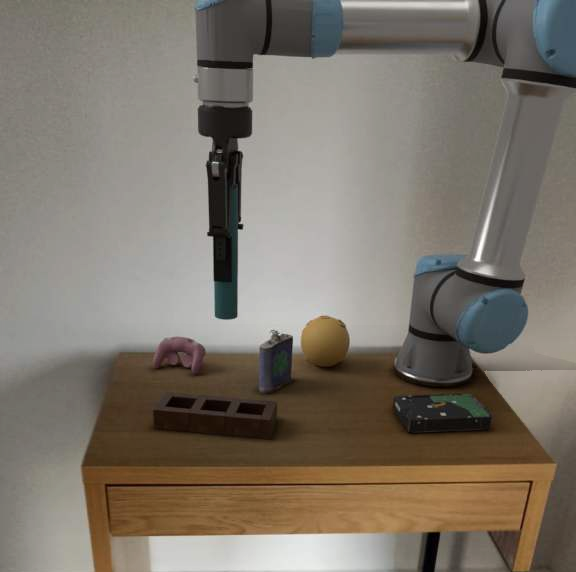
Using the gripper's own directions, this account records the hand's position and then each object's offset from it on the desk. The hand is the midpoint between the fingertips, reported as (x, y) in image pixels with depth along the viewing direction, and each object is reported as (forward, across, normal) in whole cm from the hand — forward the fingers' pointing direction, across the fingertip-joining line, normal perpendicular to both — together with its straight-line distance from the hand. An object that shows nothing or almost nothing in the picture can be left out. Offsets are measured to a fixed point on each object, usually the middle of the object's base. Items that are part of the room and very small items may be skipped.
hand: (225, 277), depth 115 cm
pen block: (+25, +1, -2) cm, 25 cm away
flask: (+25, -18, +5) cm, 31 cm away
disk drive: (+24, -9, +36) cm, 45 cm away
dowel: (+6, 0, 0) cm, 6 cm away
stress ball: (+25, -31, +13) cm, 42 cm away
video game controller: (+25, -23, -15) cm, 37 cm away
